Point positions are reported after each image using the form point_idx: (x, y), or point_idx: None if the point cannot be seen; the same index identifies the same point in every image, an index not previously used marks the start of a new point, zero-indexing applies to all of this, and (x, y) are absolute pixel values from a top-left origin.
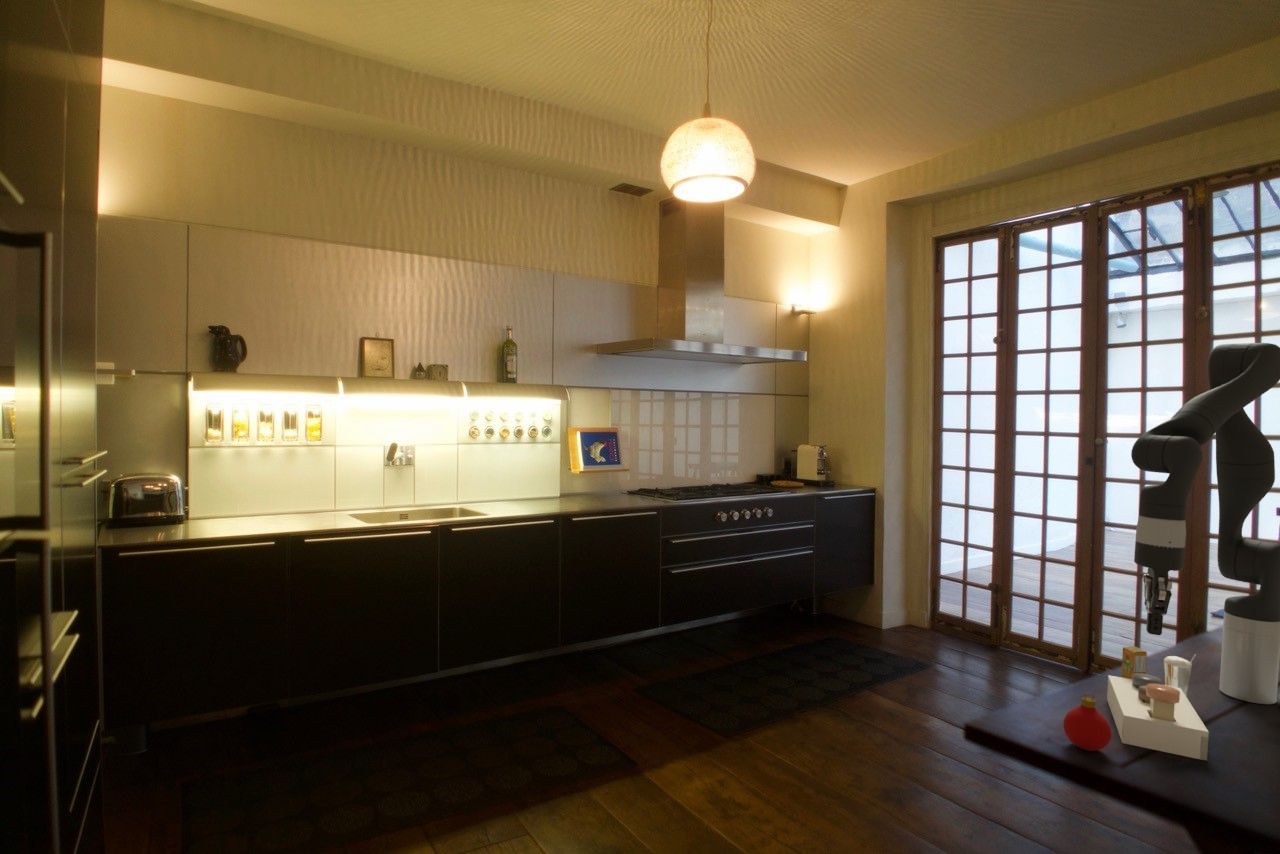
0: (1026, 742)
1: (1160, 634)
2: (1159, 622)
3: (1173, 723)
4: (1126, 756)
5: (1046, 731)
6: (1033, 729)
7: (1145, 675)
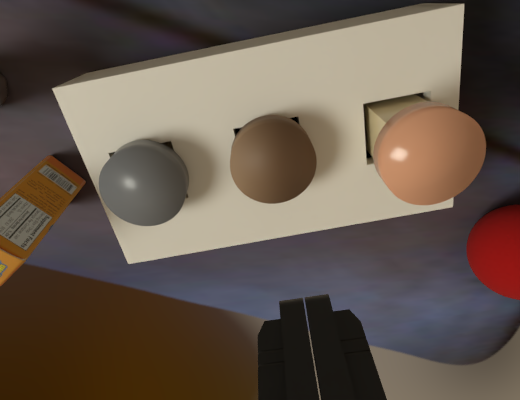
0: (516, 302)
1: (328, 296)
2: (377, 372)
3: (444, 98)
4: (494, 163)
5: (443, 287)
6: (446, 304)
7: (120, 195)
